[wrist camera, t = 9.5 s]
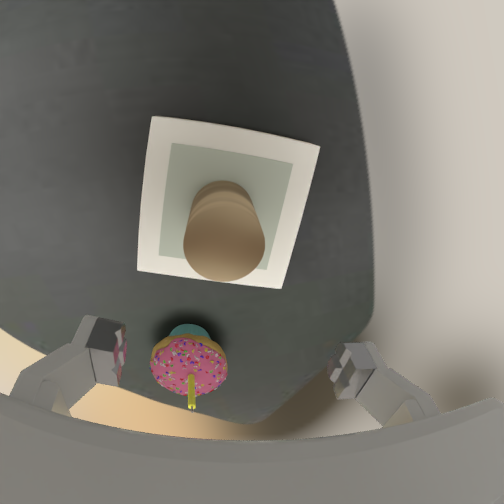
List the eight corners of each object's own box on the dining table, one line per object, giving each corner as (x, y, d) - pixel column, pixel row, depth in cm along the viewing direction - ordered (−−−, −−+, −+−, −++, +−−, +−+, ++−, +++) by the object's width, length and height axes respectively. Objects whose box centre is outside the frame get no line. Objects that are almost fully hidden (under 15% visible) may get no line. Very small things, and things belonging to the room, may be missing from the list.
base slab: (157, 115, 24) (151, 116, 21) (311, 143, 26) (321, 146, 24) (142, 258, 29) (136, 271, 27) (276, 276, 32) (281, 290, 30)
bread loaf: (196, 175, 24) (188, 201, 18) (259, 186, 25) (273, 215, 19) (187, 234, 26) (179, 276, 20) (246, 242, 27) (255, 286, 21)
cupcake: (163, 302, 32) (147, 387, 21) (236, 321, 34) (247, 406, 23) (150, 354, 35) (137, 434, 25) (214, 369, 37) (218, 448, 27)
